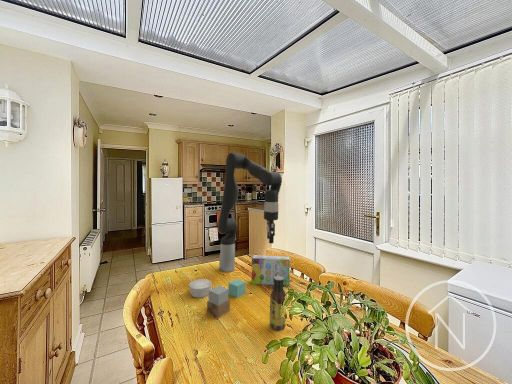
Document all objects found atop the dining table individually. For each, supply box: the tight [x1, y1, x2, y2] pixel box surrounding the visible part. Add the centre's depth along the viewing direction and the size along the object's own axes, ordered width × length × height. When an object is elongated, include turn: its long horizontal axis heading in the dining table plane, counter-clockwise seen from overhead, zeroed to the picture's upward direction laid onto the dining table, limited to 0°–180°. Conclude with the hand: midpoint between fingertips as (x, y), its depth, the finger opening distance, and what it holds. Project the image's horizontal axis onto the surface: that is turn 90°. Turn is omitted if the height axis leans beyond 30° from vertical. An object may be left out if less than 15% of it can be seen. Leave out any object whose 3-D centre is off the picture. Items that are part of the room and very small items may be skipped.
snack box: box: [251, 254, 291, 287], centre depth 130 cm, size 21×6×15 cm, turn 84°
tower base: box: [206, 298, 231, 319], centre depth 101 cm, size 7×7×5 cm
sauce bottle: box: [269, 276, 287, 331], centre depth 91 cm, size 6×6×20 cm
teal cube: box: [228, 278, 246, 299], centre depth 117 cm, size 6×6×6 cm
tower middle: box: [208, 285, 229, 306], centre depth 101 cm, size 6×6×5 cm
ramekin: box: [188, 278, 213, 298], centre depth 117 cm, size 11×11×5 cm
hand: (270, 240), depth 120 cm, fingers open, 8 cm apart
